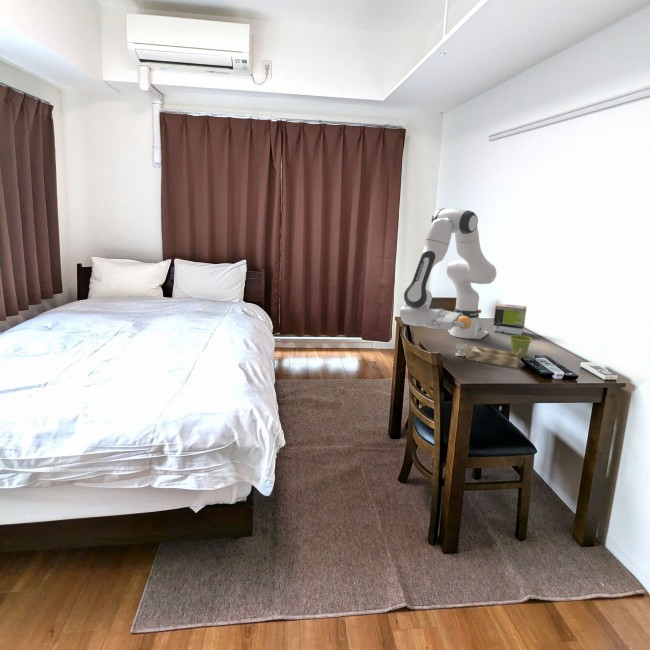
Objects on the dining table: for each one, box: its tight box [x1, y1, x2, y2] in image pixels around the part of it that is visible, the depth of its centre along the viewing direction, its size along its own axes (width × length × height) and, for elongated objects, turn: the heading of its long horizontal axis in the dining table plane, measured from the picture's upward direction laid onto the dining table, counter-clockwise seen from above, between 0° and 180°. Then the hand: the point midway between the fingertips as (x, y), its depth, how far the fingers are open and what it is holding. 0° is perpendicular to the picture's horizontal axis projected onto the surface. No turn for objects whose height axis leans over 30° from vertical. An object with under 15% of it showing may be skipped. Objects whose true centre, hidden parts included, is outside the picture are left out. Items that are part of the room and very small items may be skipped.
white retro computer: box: [492, 302, 527, 336], centre depth 262 cm, size 15×10×15 cm
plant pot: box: [509, 334, 533, 358], centre depth 219 cm, size 9×9×9 cm
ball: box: [457, 316, 471, 329], centre depth 213 cm, size 6×6×6 cm
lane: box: [465, 345, 522, 369], centre depth 210 cm, size 22×9×7 cm, turn 64°
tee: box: [455, 342, 468, 358], centre depth 216 cm, size 4×4×5 cm
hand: (466, 322), depth 213 cm, fingers closed on ball, 6 cm apart
